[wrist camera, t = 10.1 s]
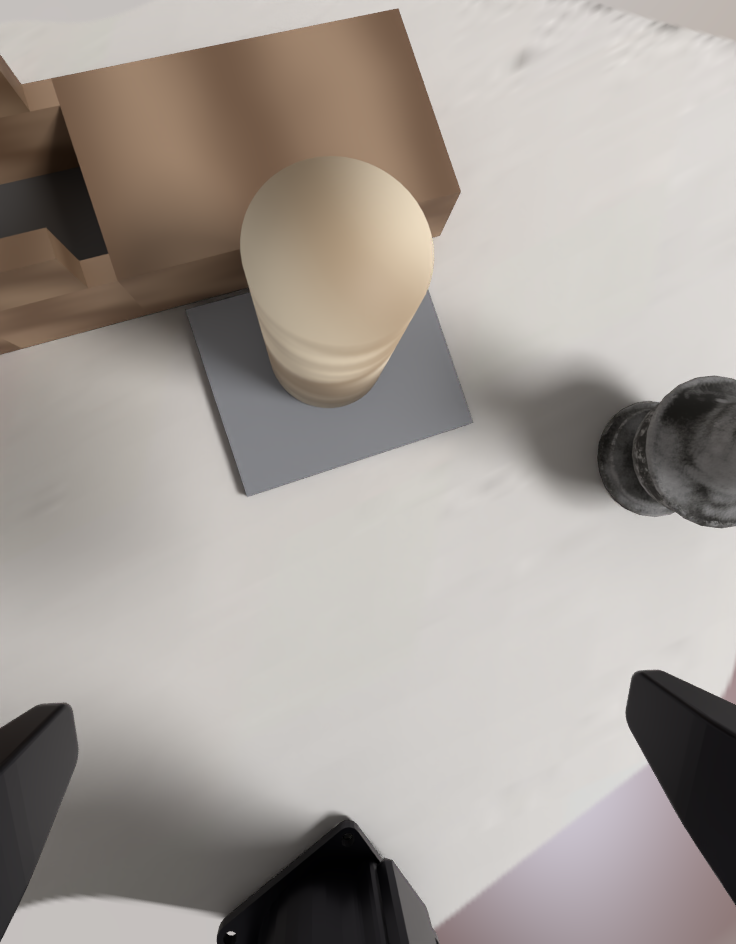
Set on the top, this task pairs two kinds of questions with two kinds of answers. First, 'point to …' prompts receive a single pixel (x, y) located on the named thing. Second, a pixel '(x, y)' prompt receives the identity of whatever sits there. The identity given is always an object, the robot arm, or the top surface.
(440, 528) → the top surface
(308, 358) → the birch cylinder
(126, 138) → the wooden track
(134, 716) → the top surface
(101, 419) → the top surface
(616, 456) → the salt shaker
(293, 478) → the mat
